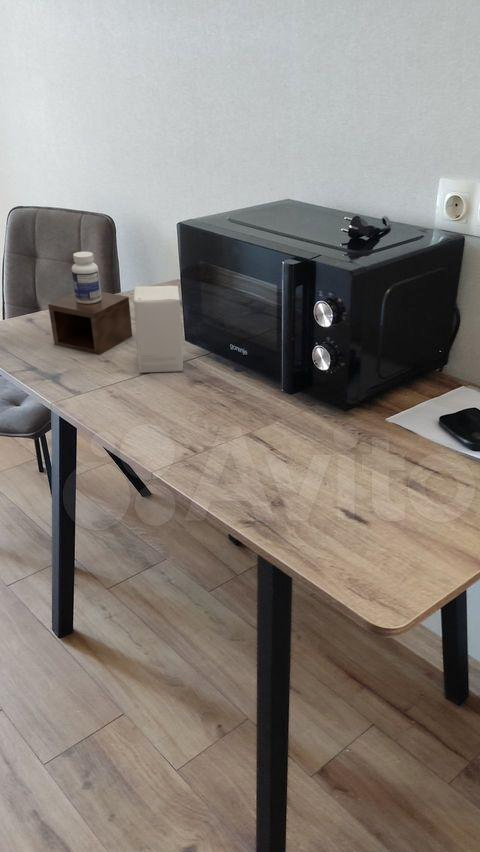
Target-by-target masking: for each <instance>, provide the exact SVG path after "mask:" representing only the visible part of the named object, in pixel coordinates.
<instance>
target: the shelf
mask: <svg viewBox="0 0 480 852" xmlns="http://www.w3.org/2000/svg"><path fill="white" fill-rule="evenodd" d="M47 306H48V312H49V318H50V325H51V332H52V337H53V345H54V346H59V347H63V348H68V349H71V350H76V351H77V350H78V351H81V352H86V353H90V354H95V355H102V354H104V353H105V352H107V351H109V350H110V349H112V348H114V347H116V346H118V345H119V344H121V343H123V342H124V341H126V340H128V339H130V338H132V337H133V329H132V317H131V306H130V297H129V296H125V295H121V294H116V293H111V292H107V291H101V300H100V301H99V302H96V303H92V304H83V303H79V302H77V301H76V297H75V292H73V293H71V294H68V295H66V296H64V297H62V298H61V297H60V298H59V299H56V300H55V301H52V302H50V303H48V304H47Z"/></svg>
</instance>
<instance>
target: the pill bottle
mask: <svg viewBox="0 0 480 852" xmlns="http://www.w3.org/2000/svg"><path fill="white" fill-rule="evenodd" d="M72 257H73V258H72V259H73V262H74V264H72V266H71V275H72V283H73V291H74V293H75V297H76V301H77V302H79V303H83V304H92V303H96V302H99V301H100V300H101V292H102V290H101V281H100V273H99V266H98V265H97V264H96V263H94V252H90V251H78V252H74V253H73V254H72Z"/></svg>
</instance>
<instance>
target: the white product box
mask: <svg viewBox="0 0 480 852" xmlns="http://www.w3.org/2000/svg"><path fill="white" fill-rule="evenodd" d="M133 311H134V322H135V323H134V324H135V334H136V335H135V336H136V345H137V347H136V348H137V359H138V373H140V374H141V373H142V374H143V373H168V372H169V373H170V372H171V373H172V372H183V371H184V360H183V359H184V358H183V357H184V355H183V352H184V351H183V330H182V313H181V299H180V290H179V286H178V285H155V286H154V285H153V286H152V285H150V286H149V285H148V286H146V285H145V286H134V288H133Z"/></svg>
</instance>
